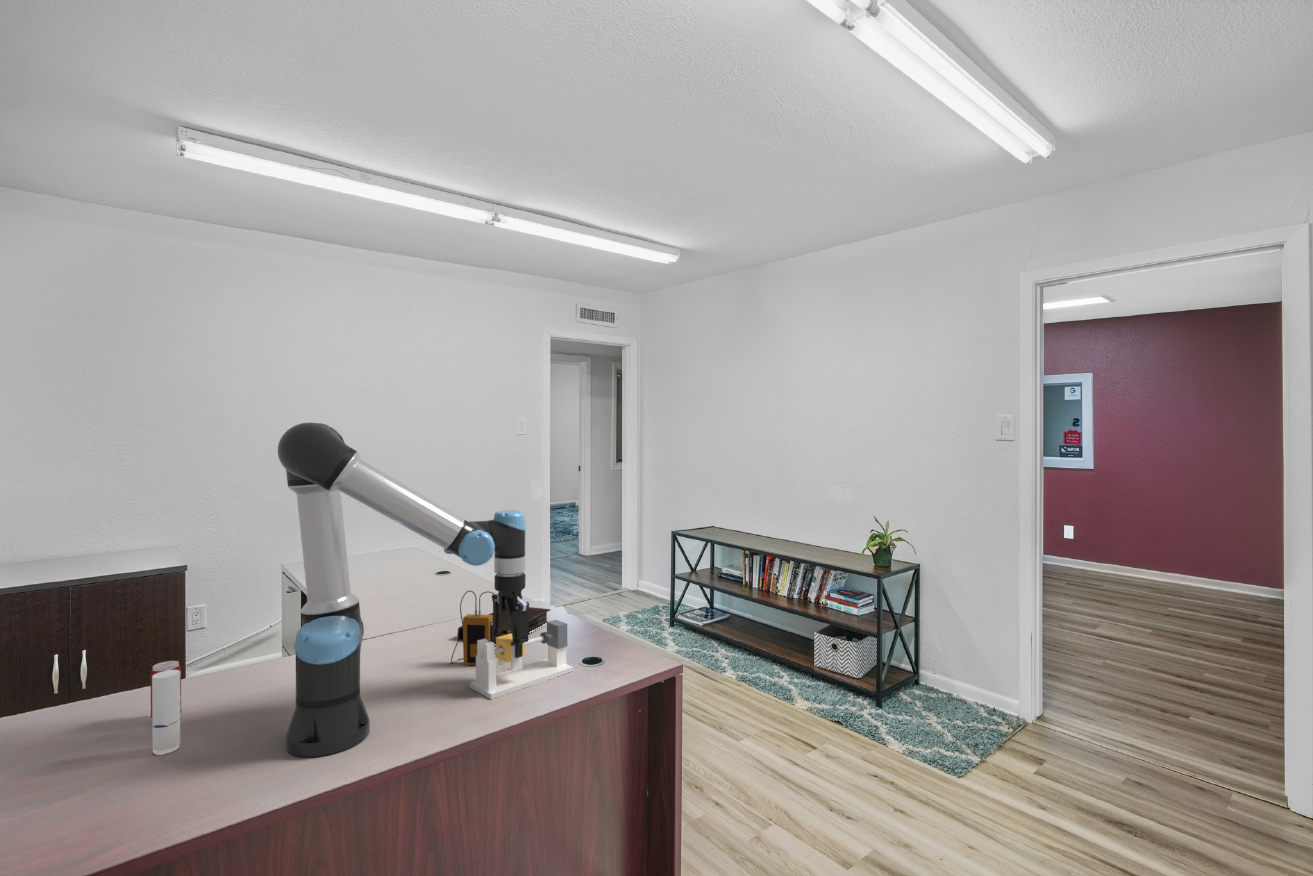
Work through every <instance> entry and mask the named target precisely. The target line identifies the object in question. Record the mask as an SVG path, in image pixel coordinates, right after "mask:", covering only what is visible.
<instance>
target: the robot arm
mask: <svg viewBox="0 0 1313 876" xmlns="http://www.w3.org/2000/svg"><path fill="white" fill-rule="evenodd" d="M277 456H278V459H279V462H280V463H281V466H282V467H283V468H284V469H285V473H286V481H287V482H286V483H287V488H288V489H289V490H290V491H292V492H294V493H295V494H296V500H297V502H296V503H297V509H298V510H297V511H298V519H299V520H298V521H299V530H300V539H301V548H302V550H301V551H302V559H303V569H304V577H305V578H304V579H305V588H306V597H307V601H306V603H305V604H304V605H303V606H302V608H301V609H300V617H301V627H299V629H298V630H297V632H296V635H295V641H294V645H293V646H294V652H295V707H294V711H293V714H292V717H291V720H290V723H289V726H288V728H287V732H286V735H285V750H286V752H288V753H289V754H291V755H292V756H295V757H303V758H312V757H313V758H315V757H323V756H328V755H333V754H337V753H340V752H343V751H346V750H349V749H350V748H352V747H354V746H356V745H358V744H360V743H361V742H363V741H364V740H366V738H367V737H368V735H369V734H370V730H371V729H370V717H369V715H368V712H367V709H366V707H365V703H364V702H363V699H362V696H361V651H362V642H363V639H364V633H365V626H364V621H363V619H362V617H361V608H360V599H359V597H357V596H355V595H354V594H353V593H351V584H350V583H351V582H350V581H351V580H350V573H349V563H348V553H347V544H346V543H347V542H346V532H345V525H344V524H345V523H344V513H343V503H342V494H345V495H346V496H348V497H350V498H351V499H354V500H355V501H357V502H359V503H361V504H363V505H365V506H367V507H368V508H370V509H372V510H374V511H375V512H377V513H379V514H381V515H383V516H385V517H386V518H389V519H390V520H392V521H394V522H395V523H398V524H399V525H400V526H403V527H405V528H406V529H409V530H411V531H412V532H414V533H416V534H418V535H419V536H421V537H423V538H424V539H427V540H428V541H430V542H432V543H434V544H436V545H438V546H439V547H441V548H443V551H444V553H445V554H447V555H455V556H457V557H459V558H460V559H461V560H462V561H463V562H464V563H466V564H468V565H470V566H477V567H478V566H482V565H484V564H487V563H488V562H489V561H490V560H491V559H492V558H493V556H494V558H493V561H494V563H493V564H494V566H493V567H494V568H493V571H494V573H495V575H494V590H495V591H496V592H497V593H494V594H492V595H491V599H492V600H491V601H492V613H493V633H494V634H495V633H496V634H497V637H500V636H503V635H507V634H509V632H508V627H509V621H510V624H511V631H512V638H513V643H510V644H511V662H504V661H502V660H500V659H498V666H504V665H506V664H510V670H511V671H516V670H519V669H522V666H523V658H522V655H523V653H522V652H523V643H525V642H528V640H529V635H528V609H529V607H530V602H529V601H526V602H525V601H524V600H523V596H522V591H523V590H524V589H526V573H525V571H526V531H527V529H526V518H525V514H524V512H523V511H521V510H513V509H512V510H511V509H509V510H500V511H495V513H494V516H493V519H490V520H477V521H476V520H475V521H473V520H471V521H468V520H467V519H465V518H463V517H461V516H459V515H458V514H456V513H454V512H452V511H451V510H449V509H447V508H446V507H444V506H442V505H440V504H439V503H437V502H435V501H434V500H432V499H430V498H428V497H427V496H425V495H424V494H421V493H420V492H418V491H416V490H415V489H413V488H412V487H410V486H408V485H406V484H404V483H403V482H401V481H399V480H397V479H395V478H394V477H392V476H390V475H389V474H387V473H386V472H384V471H382V470H380V469H379V468H377V467H375V466H373V465H371V464H370V463H368V462H367V461H365V460H363V459H361V457H360V453H359V451H358V450H356V449H354V448H352V447H350V446H349V445H348V444H347V443H345V440H344V438H343V436H342V435H341V434H340V432H338V430H337V429H335V428H334V427H332V426H330V425H328V424H326V423H322V422H303V423H302V422H301V423H299V424H295V425H293V426H292V427H290V428H288V429H287V430H285V432H284V433H283V434H282V436H280V439H279V441H278V445H277ZM515 611H517V612H515ZM512 612H513V613H512ZM497 627H498V628H497Z"/></svg>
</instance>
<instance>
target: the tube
mask: <svg viewBox="0 0 1313 876" xmlns="http://www.w3.org/2000/svg"><path fill="white" fill-rule="evenodd" d="M151 723H152V728H151V729H152V750H153V749H154V750H157V751H162V750H166V749H170V748H171V749H172V748H173V747H176V746H177V745H179V744H180V745H181V715H180V671H179V670H168V671H163V672H159V673H157V674H154V675H153V676H152V721H151Z"/></svg>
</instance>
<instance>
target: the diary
mask: <svg viewBox="0 0 1313 876" xmlns="http://www.w3.org/2000/svg"><path fill="white" fill-rule="evenodd" d="M550 611H551V609H550V608H543V607H532V606H529V609H528V636H529V635H531V634H533V633H532V632H531V634H530V633H529V632H530V631H532V630H534V629H536V628H538V627H540V626H542V625H543V624H545V623H547V622H548V620H547V619H548V615H547V613H548V612H550ZM515 612H517V611H515ZM512 613H513V612H512ZM487 615H492V616H493V612H491V613H488V614H487ZM497 628H498V627H497ZM461 631H462V625H461V626H459V627H458V628H457V640H458V639H459V636H460V633H461ZM508 632H509V634H511V633H512V631H511V624H510V621H509V627H508ZM496 637H497V634H496V633H495V634H494V643H495V644H496ZM462 638H463V631H462V633H461V636H460V639H461V640H463V639H462ZM460 639H459V641H461V640H460Z"/></svg>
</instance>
